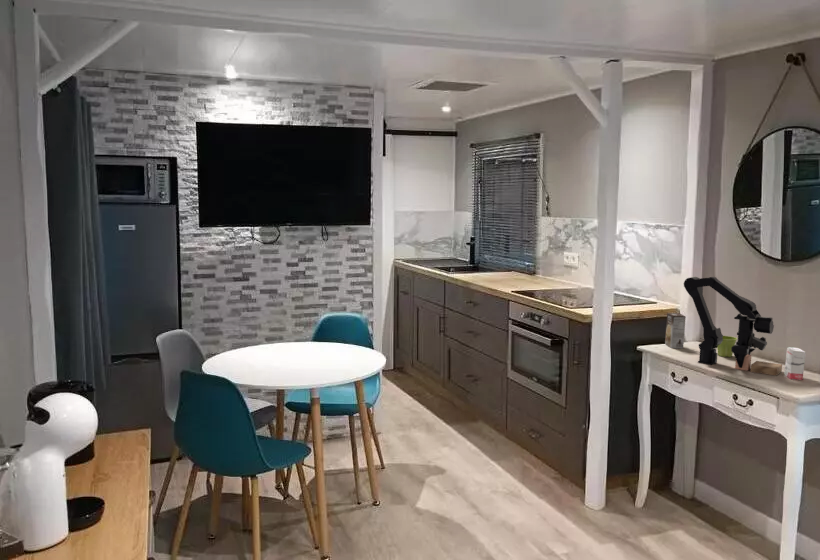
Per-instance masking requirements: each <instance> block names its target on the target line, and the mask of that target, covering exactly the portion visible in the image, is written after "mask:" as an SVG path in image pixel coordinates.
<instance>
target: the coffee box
mask: <svg viewBox="0 0 820 560" xmlns="http://www.w3.org/2000/svg"><path fill="white" fill-rule="evenodd" d="M665 324H666V325H665V340H664V343H665V346H667V347H669V348H671V349H684V345H685V344H684V343H685V330H686V328H685V327H686V316H685V315H684V314H681V313H679V312H678V313H677V312H676V313H675V312H667V313H666V323H665Z"/></svg>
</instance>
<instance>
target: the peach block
mask: <svg viewBox="0 0 820 560" xmlns="http://www.w3.org/2000/svg"><path fill="white" fill-rule="evenodd" d="M751 364H752V354H750V355H748V354H747V355H746V356H745V359H744V363H743V366H742V368H740V367H739V366H738V363H737V360H736V359H735V364H734V365H735V366H734V369H736V370H741V371H749V370H751Z"/></svg>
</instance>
